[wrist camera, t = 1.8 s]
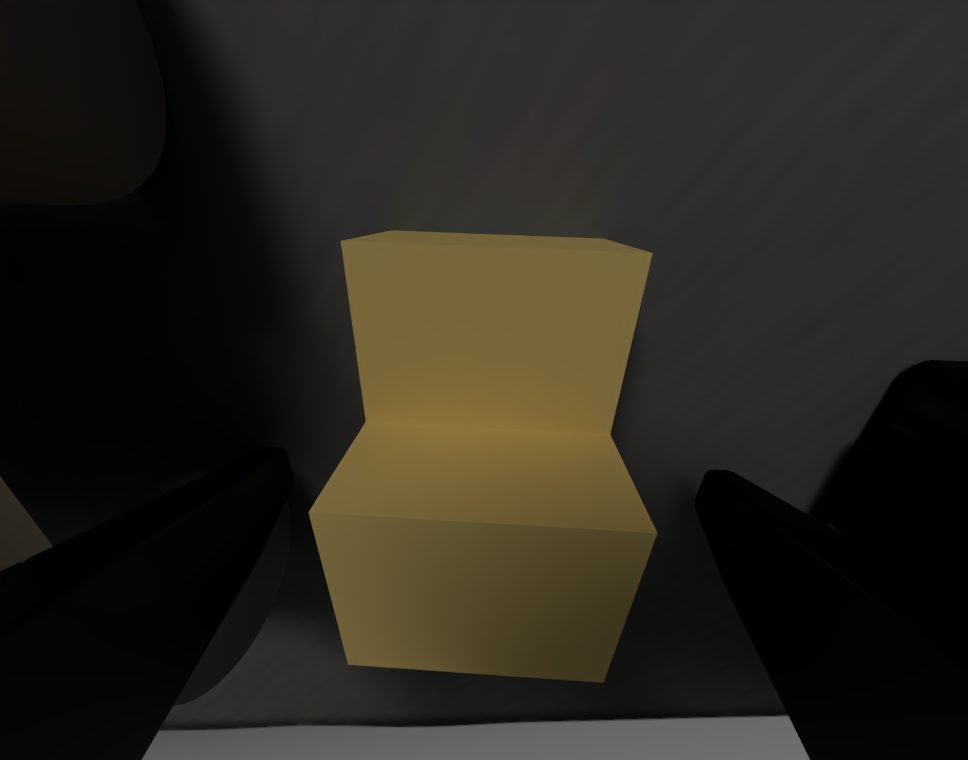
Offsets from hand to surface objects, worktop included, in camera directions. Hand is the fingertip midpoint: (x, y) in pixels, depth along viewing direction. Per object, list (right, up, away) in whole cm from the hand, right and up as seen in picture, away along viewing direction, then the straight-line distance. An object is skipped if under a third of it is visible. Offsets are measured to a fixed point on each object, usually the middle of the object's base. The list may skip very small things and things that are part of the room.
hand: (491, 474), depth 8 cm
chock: (0, +2, +2) cm, 3 cm away
